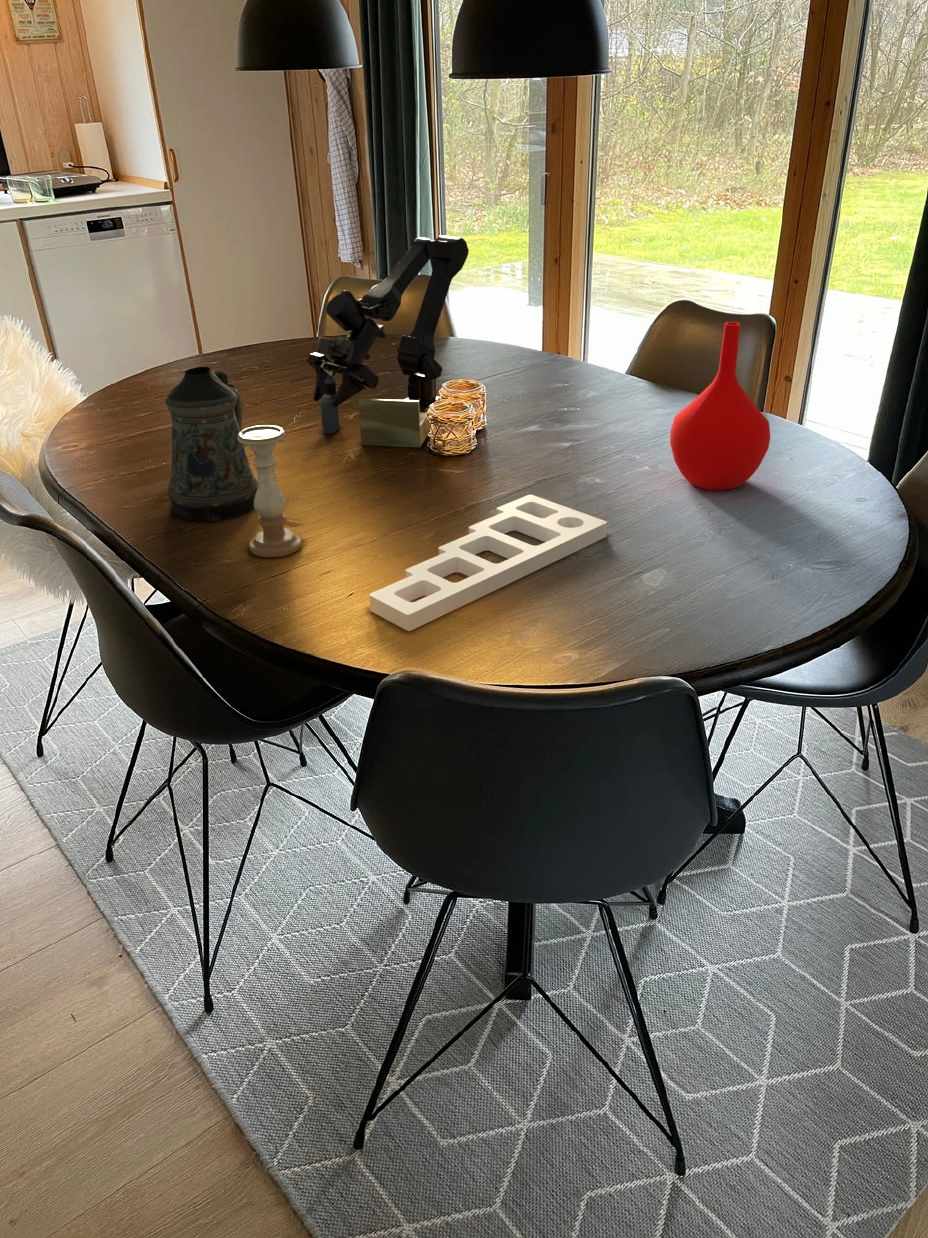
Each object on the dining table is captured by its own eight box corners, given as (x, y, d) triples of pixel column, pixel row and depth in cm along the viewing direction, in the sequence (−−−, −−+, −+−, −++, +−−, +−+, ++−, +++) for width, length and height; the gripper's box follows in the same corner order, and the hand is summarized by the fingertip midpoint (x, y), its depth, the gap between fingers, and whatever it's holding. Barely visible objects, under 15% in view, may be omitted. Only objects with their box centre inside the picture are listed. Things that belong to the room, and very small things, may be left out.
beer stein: (168, 526, 172) (142, 388, 160) (174, 486, 188) (151, 359, 176) (261, 516, 175) (243, 380, 162) (259, 478, 191) (242, 352, 179)
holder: (408, 631, 138) (407, 615, 136) (332, 590, 149) (331, 575, 148) (607, 536, 164) (608, 521, 163) (530, 507, 176) (530, 494, 174)
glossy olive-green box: (373, 430, 216) (370, 386, 211) (429, 432, 214) (428, 387, 209) (361, 445, 207) (358, 399, 202) (420, 447, 205) (418, 401, 200)
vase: (658, 493, 181) (672, 332, 166) (674, 460, 195) (688, 309, 181) (758, 504, 175) (782, 338, 160) (767, 469, 190) (789, 315, 175)
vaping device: (341, 427, 218) (337, 374, 212) (331, 434, 214) (326, 381, 208) (331, 426, 219) (326, 374, 213) (321, 433, 214) (316, 380, 209)
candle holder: (277, 562, 158) (262, 444, 148) (238, 551, 162) (221, 435, 152) (312, 542, 165) (299, 428, 154) (273, 532, 169) (259, 420, 159)
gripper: (308, 315, 213) (274, 375, 211) (364, 327, 202) (329, 391, 200) (339, 344, 222) (306, 402, 220) (394, 357, 210) (360, 418, 209)
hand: (324, 403), depth 212 cm, fingers open, 6 cm apart
